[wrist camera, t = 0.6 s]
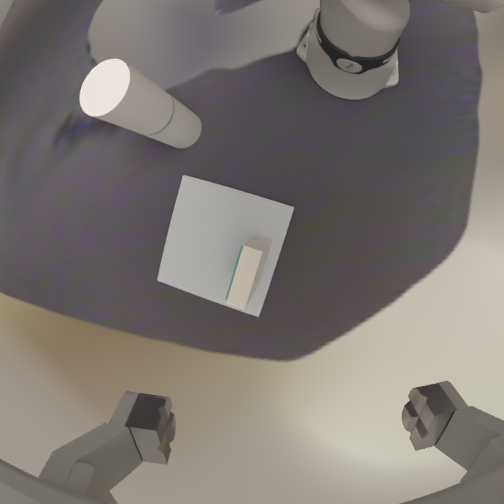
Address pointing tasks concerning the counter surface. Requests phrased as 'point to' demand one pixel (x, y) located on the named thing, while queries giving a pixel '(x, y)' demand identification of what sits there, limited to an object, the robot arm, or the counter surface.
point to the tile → (248, 271)
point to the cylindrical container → (137, 104)
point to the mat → (219, 239)
